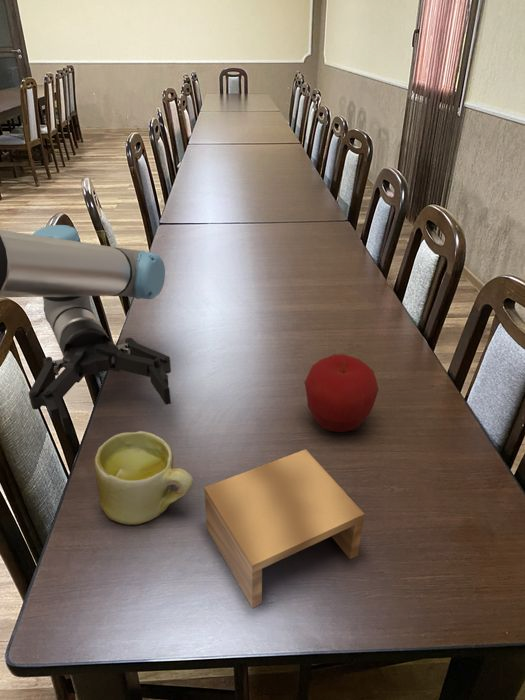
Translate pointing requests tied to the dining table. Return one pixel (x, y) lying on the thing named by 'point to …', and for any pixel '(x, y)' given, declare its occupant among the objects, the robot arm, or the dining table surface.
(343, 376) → the apple
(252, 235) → the dining table surface
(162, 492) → the mug
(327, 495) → the shelf
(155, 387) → the robot arm
